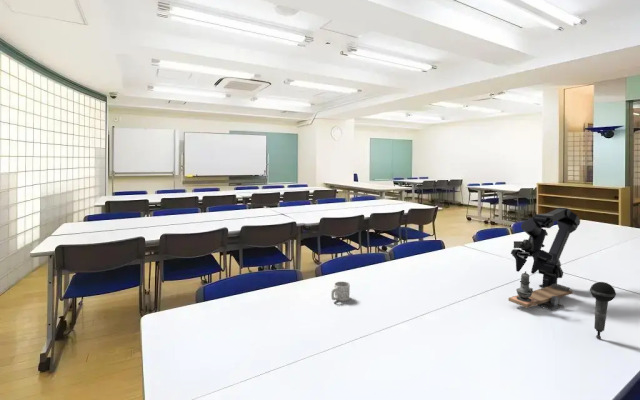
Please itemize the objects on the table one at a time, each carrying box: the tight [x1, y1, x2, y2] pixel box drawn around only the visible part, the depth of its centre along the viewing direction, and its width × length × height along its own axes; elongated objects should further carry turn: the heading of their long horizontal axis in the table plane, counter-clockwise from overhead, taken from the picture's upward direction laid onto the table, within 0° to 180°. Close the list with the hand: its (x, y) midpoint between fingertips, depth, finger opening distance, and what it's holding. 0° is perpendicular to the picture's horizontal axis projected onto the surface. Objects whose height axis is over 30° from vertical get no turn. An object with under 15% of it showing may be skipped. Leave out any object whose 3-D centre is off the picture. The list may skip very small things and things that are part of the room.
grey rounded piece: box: [516, 271, 533, 302], centre depth 140 cm, size 6×6×12 cm
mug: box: [330, 280, 351, 302], centre depth 150 cm, size 10×7×7 cm, turn 134°
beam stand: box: [529, 286, 565, 312], centre depth 146 cm, size 8×14×5 cm, turn 26°
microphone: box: [589, 281, 617, 340], centre depth 115 cm, size 7×7×20 cm
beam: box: [507, 283, 574, 309], centre depth 145 cm, size 32×8×2 cm, turn 116°
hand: (524, 272), depth 150 cm, fingers open, 9 cm apart
